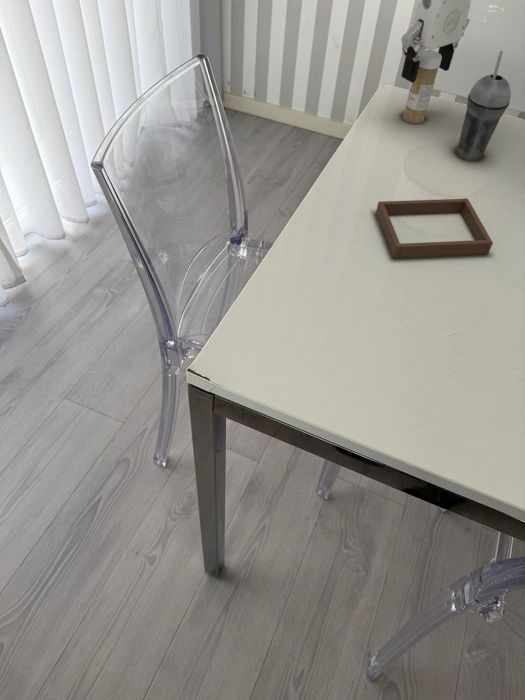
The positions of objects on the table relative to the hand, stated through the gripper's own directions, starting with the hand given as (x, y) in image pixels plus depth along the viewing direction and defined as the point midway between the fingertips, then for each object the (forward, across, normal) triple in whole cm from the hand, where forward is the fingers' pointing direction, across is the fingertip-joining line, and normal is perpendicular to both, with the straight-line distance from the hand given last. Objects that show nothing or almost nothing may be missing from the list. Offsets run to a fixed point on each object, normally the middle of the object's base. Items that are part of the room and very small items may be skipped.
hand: (425, 73), depth 110 cm
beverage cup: (+10, -1, -16) cm, 19 cm away
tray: (+10, -25, -28) cm, 39 cm away
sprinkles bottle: (+10, 0, 0) cm, 10 cm away
